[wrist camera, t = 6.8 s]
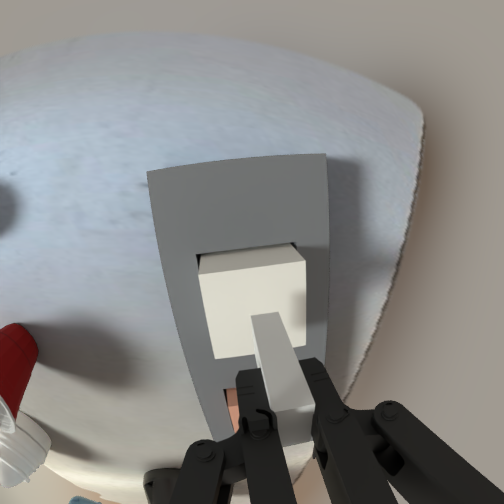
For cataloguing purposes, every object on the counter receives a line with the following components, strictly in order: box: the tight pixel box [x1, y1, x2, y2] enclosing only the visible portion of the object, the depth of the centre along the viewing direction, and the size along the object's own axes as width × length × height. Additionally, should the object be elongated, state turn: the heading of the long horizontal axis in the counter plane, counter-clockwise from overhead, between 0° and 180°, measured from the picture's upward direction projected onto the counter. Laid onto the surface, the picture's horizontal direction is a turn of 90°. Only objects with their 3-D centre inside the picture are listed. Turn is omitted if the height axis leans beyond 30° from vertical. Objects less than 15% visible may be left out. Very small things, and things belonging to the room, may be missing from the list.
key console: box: [147, 154, 329, 447], centre depth 24 cm, size 32×12×5 cm, turn 5°
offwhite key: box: [198, 243, 306, 359], centre depth 19 cm, size 6×6×4 cm
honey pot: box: [0, 411, 52, 488], centre depth 21 cm, size 13×13×18 cm
